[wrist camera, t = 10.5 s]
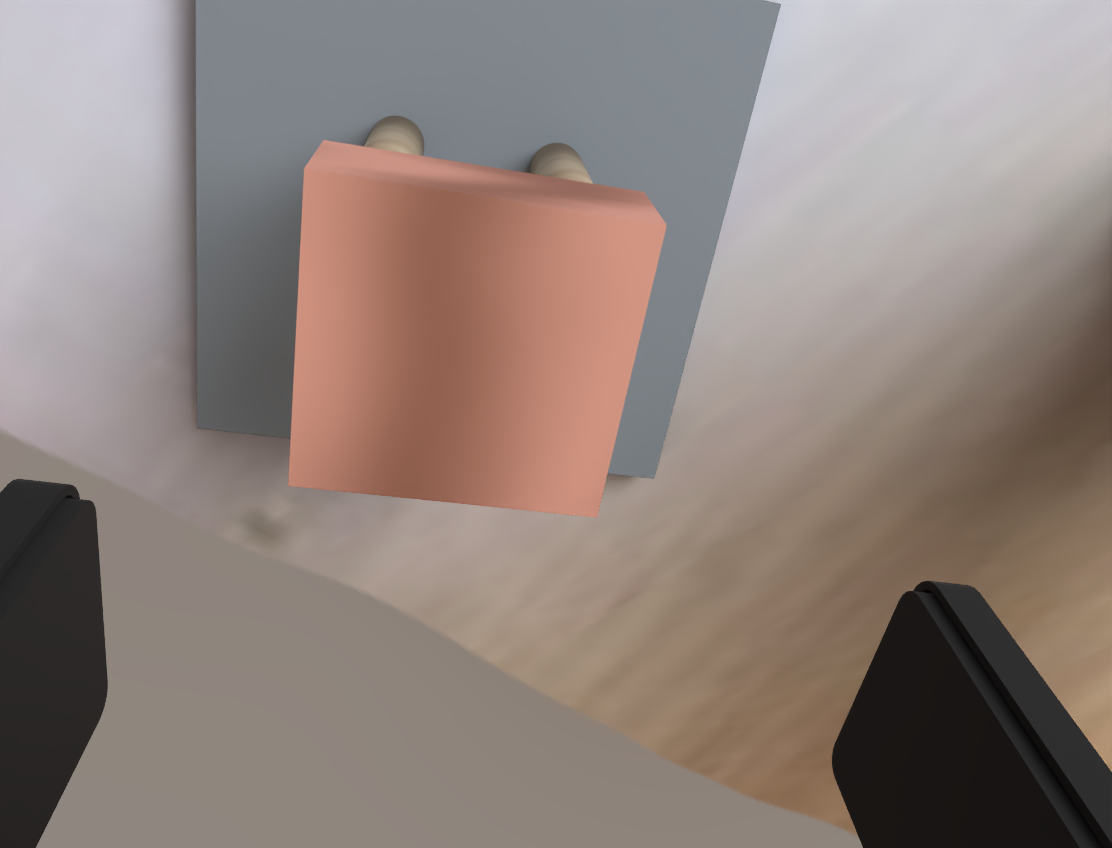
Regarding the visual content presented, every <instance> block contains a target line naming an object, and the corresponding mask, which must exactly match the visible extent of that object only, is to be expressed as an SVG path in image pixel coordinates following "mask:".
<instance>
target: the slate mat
mask: <svg viewBox="0 0 1112 848" xmlns="http://www.w3.org/2000/svg"><path fill="white" fill-rule="evenodd" d="M780 6H781V4H778V3H774V2H769V1H764V0H195V19H196V273H197V428H199V429H208V430H217V431H226V432H235V433H244V434H254V435H263V436H272V437H281V438H290V439H291V421H292V401H293V381H294V361H295V341H296V321H297V301H298V281H299V261H300V241H301V221H302V201H303V181H304V168H305V166H306V165H307V163H308V162H309V161H310V159H311V158H312V156H313V155H314V153H315V152H316V150H317V149H318V148H319V146H320V145H321V143H322V142H323V140H327V141H333V142H339V143H346V144H352V145H358V146H365V143H366V141H367V139H368V137H369V135H370V133H371V131H372V129H373V127H374V126H375V125H376V123H377V122H379V121H380V120H381V119H383V118H385V117H388V116H402V117H405V118H407V119H409V120H411V121H412V122H414V123H415V124H416V125H417V126H418V128H419V129H420V131H421V133H422V135H423V138H424V152H423V156H426V157H432V158H438V159H444V160H451V161H457V162H463V163H469V164H475V165H481V166H488V167H494V168H500V169H506V170H512V171H518V172H525V173H530V166H531V162H532V159H533V157H534V155H535V154H536V152H537V151H538V150H539V149H541V148H542V147H544V146H545V145H548V144H551V143H563V144H566V145H568V146H570V147H572V148H573V149H574V150H575V151H576V152H577V153H578V155H579V156H580V158H581V160H582V162H583V164H584V166H585V168H586V170H587V172H588V174H589V176H590V178H591V180H592V182H593V184H599V185H605V186H611V187H617V188H623V189H630V190H636V191H642V192H645V194H646V195H647V197H648V198H649V200H650V201H651V203H652V204H653V206H654V207H655V208H656V210H657V211H658V213H659V214H660V216H661V217H662V219H663V220H664V222H665V223H666V225H667V227H666V231H665V235H664V239H663V243H662V247H661V252H660V256H659V260H658V264H657V268H656V273H655V277H654V281H653V285H652V289H651V294H650V298H649V302H648V306H647V310H646V315H645V319H644V323H643V327H642V331H641V335H640V340H639V344H638V348H637V352H636V356H635V361H634V365H633V369H632V373H631V377H630V382H629V386H628V390H627V394H626V398H625V402H624V407H623V411H622V415H621V419H620V423H619V428H618V432H617V436H616V440H615V444H614V449H613V453H612V457H611V461H610V465H609V469H608V474H616V475H625V476H634V477H643V478H652V479H654V477H655V473H656V470H657V466H658V462H659V458H660V455H661V451H662V447H663V443H664V440H665V436H666V432H667V428H668V425H669V421H670V417H671V414H672V410H673V406H674V402H675V399H676V395H677V391H678V387H679V384H680V380H681V376H682V372H683V369H684V365H685V361H686V357H687V354H688V350H689V346H690V342H691V339H692V335H693V331H694V328H695V324H696V320H697V316H698V313H699V309H700V305H701V301H702V298H703V294H704V290H705V286H706V283H707V279H708V275H709V271H710V268H711V264H712V260H713V256H714V253H715V249H716V245H717V241H718V238H719V234H720V230H721V227H722V223H723V219H724V215H725V212H726V208H727V204H728V200H729V197H730V193H731V189H732V185H733V182H734V178H735V174H736V170H737V167H738V163H739V159H740V155H741V152H742V148H743V144H744V141H745V137H746V133H747V129H748V126H749V122H750V118H751V114H752V111H753V107H754V103H755V99H756V96H757V92H758V88H759V84H760V81H761V77H762V73H763V69H764V66H765V62H766V58H767V54H768V51H769V47H770V43H771V40H772V36H773V32H774V28H775V25H776V21H777V17H778V13H779V10H780Z"/></svg>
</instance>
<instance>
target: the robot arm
mask: <svg viewBox="0 0 1112 848" xmlns="http://www.w3.org/2000/svg"><path fill="white" fill-rule="evenodd" d="M107 683H108V682H107V667H106V652H105V637H104V622H103V608H102V592H101V578H100V563H99V549H98V535H97V518H96V509H95V506H94V504H93V502H92V501H90V500H80V497H79V493H78V491H77V489H76V488H75V487H74V486H73V485H68V484H59V483H51V482H42V481H33V480H23V479H16V480H13V481H12V482H10V483H9V484H8V485H7V486H6V487H5V488H4V489H3V491H1V493H0V848H36V846H37V844H38V842H39V840H40V838H41V836H42V834H43V832H44V830H45V828H46V826H47V824H48V822H49V820H50V818H51V816H52V814H53V812H54V810H55V808H56V806H57V804H58V802H59V800H60V798H61V796H62V794H63V792H64V790H65V788H66V786H67V783H68V782H69V780H70V778H71V776H72V774H73V772H74V770H75V768H76V766H77V764H78V762H79V760H80V758H81V756H82V754H83V752H84V750H85V748H86V746H87V744H88V742H89V740H90V738H91V736H92V734H93V732H94V730H95V728H96V726H97V724H98V722H99V720H100V717H101V715H102V712H103V709H104V706H105V702H106V697H107V688H108V686H107V685H108V684H107ZM832 767H833V773H834V776H835V779H836V782H837V784H838V787H839V789H840V792H841V794H842V797H843V799H844V802H845V804H846V807H847V809H848V812H849V814H850V816H851V819H852V821H853V824H854V826H855V829H856V831H857V834H858V836H859V839H860V841H861V843H862V846H863V848H1112V772H1111V771H1110V769H1109V768H1108V766H1107V765H1106V764H1105V762H1104V761H1103V760H1102V758H1101V757H1100V756H1099V754H1098V753H1097V752H1096V750H1095V749H1094V747H1093V746H1092V745H1091V743H1090V742H1089V741H1088V739H1087V738H1086V737H1085V735H1084V734H1083V733H1082V731H1081V730H1080V728H1079V727H1078V726H1077V724H1076V723H1075V722H1074V720H1073V719H1072V718H1071V716H1070V715H1069V714H1068V712H1067V711H1066V709H1065V708H1064V707H1063V705H1062V704H1061V703H1060V701H1059V700H1058V699H1057V697H1056V696H1055V695H1054V693H1053V692H1052V690H1051V689H1050V688H1049V686H1048V685H1047V684H1046V682H1045V681H1044V680H1043V678H1042V677H1041V676H1040V674H1039V673H1038V671H1037V670H1036V669H1035V667H1034V666H1033V665H1032V663H1031V662H1030V661H1029V659H1028V658H1027V656H1026V655H1025V654H1024V652H1023V651H1022V650H1021V648H1020V647H1019V646H1018V644H1017V643H1016V642H1015V640H1014V639H1013V637H1012V636H1011V635H1010V633H1009V632H1008V631H1007V629H1006V628H1005V627H1004V625H1003V624H1002V623H1001V621H1000V620H999V618H998V617H997V616H996V614H995V613H994V612H993V610H992V609H991V608H990V606H989V605H988V604H987V602H986V601H985V599H984V598H983V597H982V595H981V594H980V593H979V592H978V591H977V590H976V589H975V588H974V587H971V586H968V585H960V584H951V583H943V582H934V581H924V582H921V583H920V584H919V585H917V586H916V587H915V589H914V591H908V592H906V593H905V594H903V595H902V597H901V599H900V600H899V602H898V604H897V607H896V609H895V611H894V613H893V616H892V618H891V620H890V622H889V624H888V627H887V629H886V631H885V633H884V636H883V638H882V640H881V642H880V645H879V647H878V649H877V651H876V653H875V656H874V658H873V660H872V662H871V665H870V667H869V669H868V671H867V673H866V676H865V678H864V680H863V682H862V685H861V687H860V689H859V691H858V693H857V696H856V698H855V700H854V702H853V705H852V707H851V709H850V711H849V713H848V716H847V718H846V720H845V722H844V725H843V727H842V729H841V731H840V734H839V736H838V738H837V740H836V742H835V745H834V748H833V754H832Z"/></svg>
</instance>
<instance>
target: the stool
mask: <svg viewBox="0 0 1112 848" xmlns="http://www.w3.org/2000/svg"><path fill="white" fill-rule="evenodd" d="M423 152H424V138H423V135H422V133H421V131H420V129H419V128H418V126H417V125H416V124H415V123H414V122H412V121H411V120H409V119H407V118H405V117H402V116H388V117H385V118H383V119H381V120H380V121H379V122H377V123H376V125H375V126H374V127H373V129H372V131H371V133H370V135H369V137H368V139H367V141H366V143H365V146H358V145H352V144H346V143H339V142H333V141H327V140H323V142H322V143H321V145H320V146H319V148H318V149H317V150H316V152H315V153H314V155H313V156H312V158H311V159H310V161H309V162H308V163H307V165H306V166H305V168H304V181H303V201H302V221H301V241H300V261H299V281H298V301H297V321H296V341H295V361H294V381H293V401H292V421H291V441H290V461H289V481H288V486H294V487H304V488H314V489H324V490H334V491H343V492H353V493H363V494H373V495H383V496H392V497H402V498H412V499H422V500H432V501H441V502H451V503H461V504H471V505H480V506H490V507H500V508H510V509H520V510H529V511H539V512H549V513H559V514H569V515H578V516H588V517H597V516H598V511H599V507H600V503H601V499H602V495H603V490H604V486H605V482H606V478H607V474H608V469H609V465H610V461H611V457H612V453H613V449H614V444H615V440H616V436H617V432H618V428H619V423H620V419H621V415H622V411H623V407H624V402H625V398H626V394H627V390H628V386H629V382H630V377H631V373H632V369H633V365H634V361H635V356H636V352H637V348H638V344H639V340H640V335H641V331H642V327H643V323H644V319H645V315H646V310H647V306H648V302H649V298H650V294H651V289H652V285H653V281H654V277H655V273H656V268H657V264H658V260H659V256H660V252H661V247H662V243H663V239H664V235H665V231H666V227H667V225H666V223H665V222H664V220H663V219H662V217H661V216H660V214H659V213H658V211H657V210H656V208H655V207H654V206H653V204H652V203H651V201H650V200H649V198H648V197H647V195H646V194H645V192H642V191H636V190H630V189H623V188H617V187H611V186H605V185H599V184H593V182H592V180H591V178H590V176H589V174H588V172H587V170H586V168H585V166H584V164H583V162H582V160H581V158H580V156H579V155H578V153H577V152H576V151H575V150H574V149H573V148H572V147H570V146H568V145H566V144H563V143H551V144H548V145H545V146H544V147H542V148H541V149H539V150H538V151H537V152H536V154H535V155H534V157H533V159H532V162H531V166H530V173H525V172H518V171H512V170H506V169H500V168H494V167H488V166H481V165H475V164H469V163H463V162H457V161H451V160H444V159H438V158H432V157H426V156H423Z"/></svg>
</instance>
